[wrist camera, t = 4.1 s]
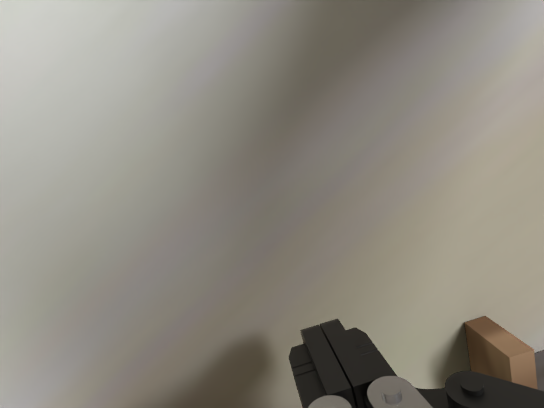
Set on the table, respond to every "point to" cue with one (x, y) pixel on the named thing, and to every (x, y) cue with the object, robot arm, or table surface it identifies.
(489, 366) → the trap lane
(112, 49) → the table surface
